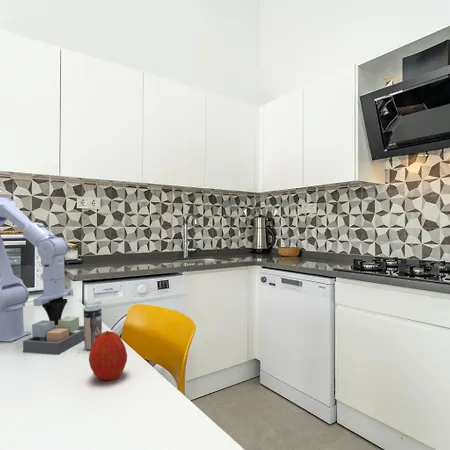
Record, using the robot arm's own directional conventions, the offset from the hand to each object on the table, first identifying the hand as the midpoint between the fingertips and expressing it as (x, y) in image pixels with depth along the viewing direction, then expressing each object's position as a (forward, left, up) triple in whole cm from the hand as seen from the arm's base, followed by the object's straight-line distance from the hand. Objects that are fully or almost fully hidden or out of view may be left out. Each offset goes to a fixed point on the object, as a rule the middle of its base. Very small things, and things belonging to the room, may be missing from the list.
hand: (55, 324), depth 103 cm
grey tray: (+2, -1, -5) cm, 6 cm away
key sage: (+5, 0, -1) cm, 5 cm away
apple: (+28, -19, -5) cm, 34 cm away
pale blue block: (0, -5, -1) cm, 5 cm away
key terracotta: (+5, -5, -4) cm, 8 cm away
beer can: (+14, -3, -5) cm, 16 cm away
